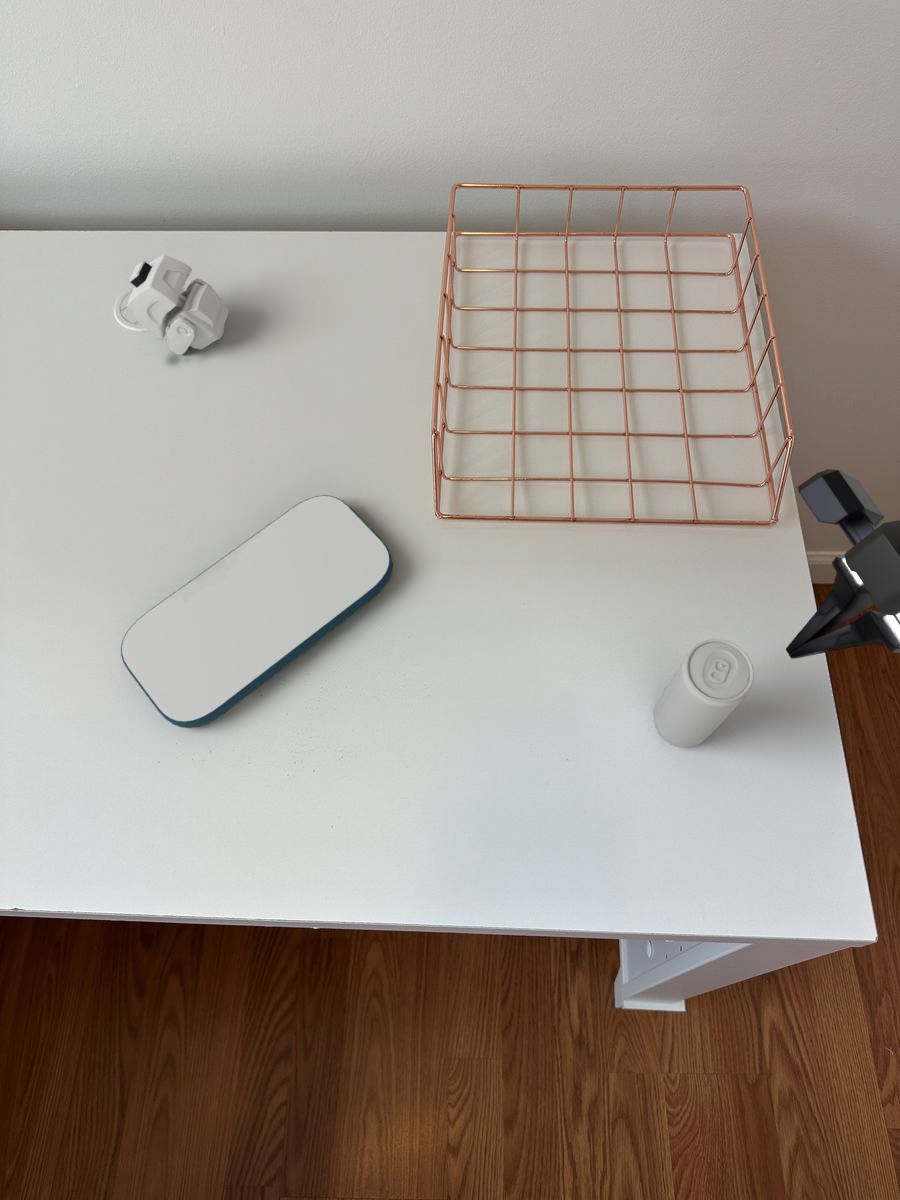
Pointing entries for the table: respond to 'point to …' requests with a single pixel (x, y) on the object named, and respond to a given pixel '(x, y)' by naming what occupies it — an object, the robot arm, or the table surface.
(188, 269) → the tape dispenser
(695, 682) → the beverage can
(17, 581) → the table surface
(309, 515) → the external hard drive
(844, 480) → the robot arm
